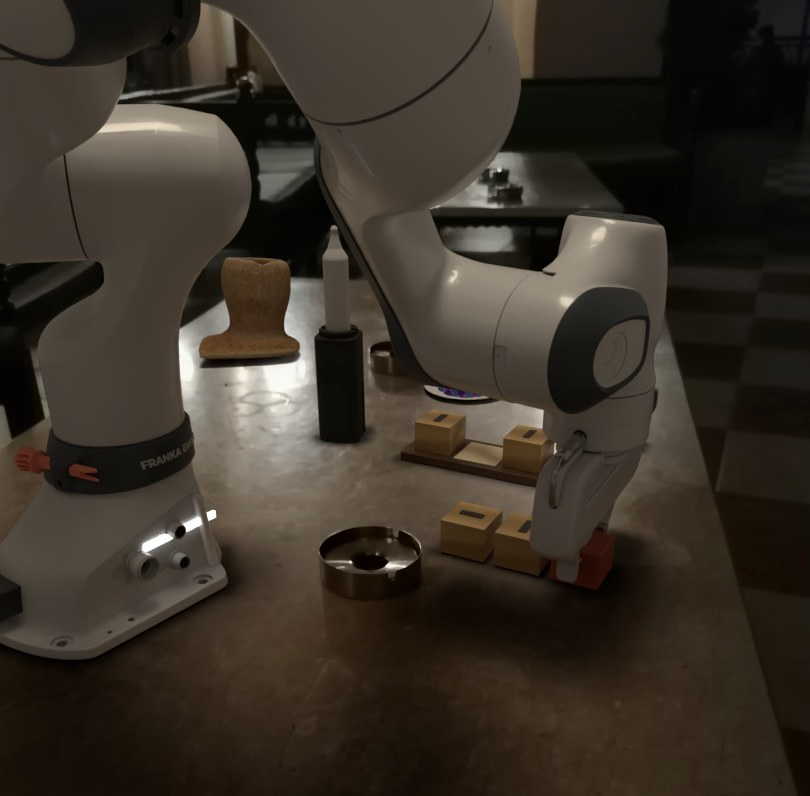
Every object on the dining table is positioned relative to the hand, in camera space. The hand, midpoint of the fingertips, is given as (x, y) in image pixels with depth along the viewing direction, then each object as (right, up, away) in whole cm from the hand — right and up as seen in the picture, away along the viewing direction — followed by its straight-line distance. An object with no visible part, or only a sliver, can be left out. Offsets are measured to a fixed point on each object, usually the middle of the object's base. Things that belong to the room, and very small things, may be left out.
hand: (582, 557), depth 82 cm
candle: (-24, +15, +31) cm, 42 cm away
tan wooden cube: (-5, 0, +3) cm, 6 cm away
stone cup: (-40, +31, +60) cm, 79 cm away
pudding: (-7, +22, +45) cm, 51 cm away
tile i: (-10, +1, +5) cm, 11 cm away
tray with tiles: (-7, +11, +23) cm, 26 cm away
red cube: (0, -1, +1) cm, 2 cm away
